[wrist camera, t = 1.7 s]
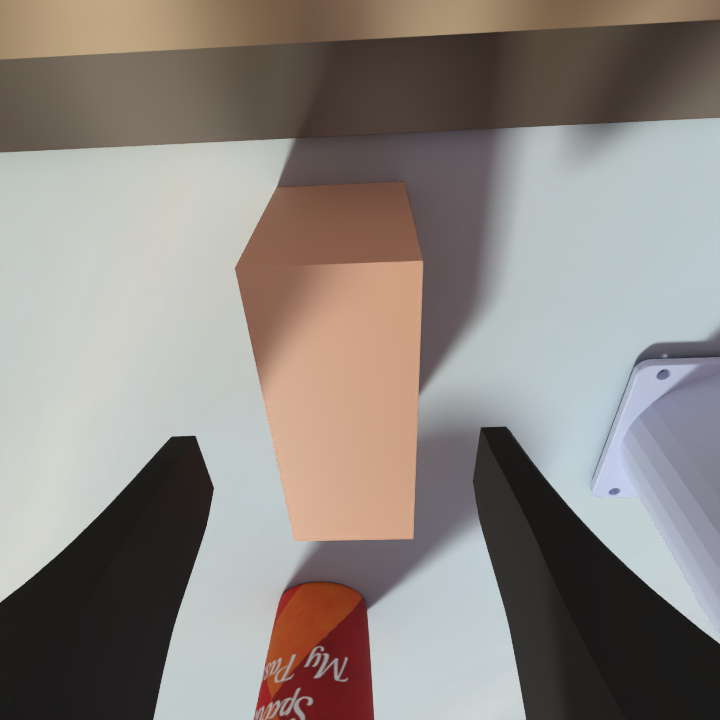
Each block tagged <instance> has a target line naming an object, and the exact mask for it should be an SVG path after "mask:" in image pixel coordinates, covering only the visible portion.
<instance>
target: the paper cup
mask: <svg viewBox="0 0 720 720" xmlns="http://www.w3.org/2000/svg"><path fill="white" fill-rule="evenodd" d="M254 720H374V709H373V693H372V676H371V660H370V645H369V631H368V618H367V608H366V602H365V600H364V598H363V597H362V595H361V594H360V593H358V592H357V591H355V590H354V589H352V588H350V587H347V586H344V585H341V584H336V583H330V582H310V583H304V584H300V585H297V586H294V587H292V588H290V589H288V590H287V591H286V592H285V593H284V594H283V595H282V596H281V599H280V601H279V605H278V609H277V613H276V617H275V622H274V626H273V630H272V635H271V640H270V644H269V649H268V654H267V659H266V663H265V668H264V673H263V678H262V682H261V687H260V692H259V697H258V702H257V707H256V711H255V716H254Z"/></svg>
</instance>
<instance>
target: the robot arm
mask: <svg viewBox="0 0 720 720" xmlns="http://www.w3.org/2000/svg"><path fill="white" fill-rule="evenodd" d="M664 369H665V370H664ZM661 370H664V371H663V372H661V373H658V372H660V371H661ZM473 484H474V490H475V497H476V503H477V509H478V514H479V520H480V524H481V527H482V531H483V534H484V538H485V542H486V545H487V549H488V552H489V556H490V559H491V563H492V566H493V569H494V573H495V576H496V580H497V583H498V587H499V590H500V594H501V597H502V601H503V604H504V608H505V612H506V616H507V620H508V624H509V628H510V633H511V638H512V644H513V649H514V654H515V659H516V665H517V670H518V675H519V681H520V686H521V692H522V698H523V703H524V709H525V714H526V720H720V644H719V643H718V642H717V641H715V640H714V639H713V638H711V637H710V636H709V635H707V634H706V633H705V632H703V631H702V630H701V629H700V628H698V627H697V626H696V625H695V624H694V623H692V622H691V621H690V620H689V619H688V618H686V617H685V616H684V615H683V614H681V613H680V612H679V611H678V610H677V609H675V608H674V607H673V606H672V605H671V604H669V603H668V602H667V601H666V600H664V599H663V598H662V597H661V596H660V595H658V594H657V593H656V592H655V591H654V590H652V589H651V588H650V587H649V586H648V585H647V584H646V583H645V582H644V581H642V580H641V579H640V578H639V577H638V576H637V575H636V574H635V573H634V572H633V571H631V570H630V569H629V568H628V567H627V566H626V565H625V564H624V563H623V562H622V561H621V560H620V559H619V558H618V557H617V556H616V555H615V554H613V553H612V552H611V551H610V550H609V549H608V548H607V547H606V546H605V545H604V544H603V543H602V542H601V541H600V540H599V539H598V537H597V536H596V535H595V534H594V533H593V532H592V531H591V530H590V529H589V528H588V527H587V526H586V525H585V524H584V523H583V522H582V520H581V519H580V518H579V517H578V516H577V515H576V514H575V513H574V512H573V511H572V509H571V508H570V507H569V506H568V505H567V504H566V503H565V501H564V500H563V499H562V498H561V497H560V495H559V494H558V493H557V492H556V491H555V489H554V488H553V487H552V486H551V485H550V483H549V482H548V481H547V480H546V479H545V477H544V476H543V475H542V474H541V472H540V471H539V470H538V468H537V467H536V466H535V465H534V463H533V462H532V461H531V459H530V458H529V457H528V455H527V454H526V453H525V451H524V450H523V449H522V447H521V446H520V444H519V443H518V442H517V440H516V439H515V437H514V436H513V435H512V433H511V432H510V430H509V429H508V428H506V427H481V430H480V437H479V444H478V451H477V458H476V465H475V472H474V479H473ZM213 490H214V487H213V485H212V482H211V479H210V476H209V473H208V470H207V468H206V465H205V462H204V459H203V456H202V453H201V451H200V448H199V445H198V442H197V439H196V436H177V437H171V438H170V439H169V440H168V441H167V442H166V443H165V444H164V446H163V447H162V448H161V449H160V450H159V451H158V452H157V453H156V454H155V455H154V457H153V458H152V459H151V460H150V461H149V462H148V463H147V464H146V466H145V467H144V468H143V469H142V470H141V471H140V472H139V473H138V474H137V476H136V477H135V478H134V479H133V480H132V481H131V482H130V483H129V484H128V485H127V486H126V488H125V489H124V490H123V491H122V492H121V493H120V494H119V495H118V496H117V497H116V498H115V499H114V500H113V501H112V502H111V504H110V505H109V506H108V507H107V508H106V509H105V510H104V511H103V512H102V513H101V514H100V515H99V516H98V517H97V518H96V519H95V520H94V521H93V522H92V523H91V524H90V525H89V526H88V527H87V528H86V529H85V530H84V531H83V532H82V533H81V534H80V535H79V536H78V537H77V538H76V539H75V540H74V541H73V542H71V543H70V544H69V545H68V546H67V547H66V548H65V549H64V550H63V551H62V552H61V553H60V554H58V555H57V556H56V557H55V558H54V559H53V560H52V561H50V562H49V563H48V564H47V565H46V566H45V567H44V568H42V569H41V570H40V571H39V572H38V573H37V574H35V575H34V576H33V577H32V578H31V579H29V580H28V581H27V582H26V583H25V584H23V585H22V586H21V587H20V588H18V589H17V590H16V591H14V592H13V593H12V594H11V595H9V596H8V597H7V598H6V599H4V600H3V601H2V602H0V720H153V718H154V713H155V708H156V703H157V699H158V694H159V689H160V684H161V679H162V675H163V670H164V666H165V662H166V657H167V653H168V649H169V644H170V640H171V636H172V632H173V628H174V625H175V621H176V618H177V614H178V611H179V608H180V605H181V602H182V599H183V596H184V593H185V590H186V587H187V584H188V581H189V578H190V575H191V572H192V569H193V566H194V563H195V560H196V557H197V554H198V551H199V548H200V545H201V542H202V539H203V536H204V533H205V529H206V526H207V521H208V516H209V512H210V507H211V501H212V496H213ZM590 490H591V492H592V494H593V495H594V496H595V497H598V498H619V497H639V498H640V500H641V502H642V503H643V505H644V507H645V509H646V511H647V512H648V514H649V516H650V518H651V519H652V521H653V523H654V525H655V526H656V528H657V530H658V532H659V533H660V535H661V537H662V539H663V541H664V542H665V544H666V546H667V548H668V549H669V551H670V553H671V555H672V556H673V558H674V560H675V562H676V563H677V565H678V567H679V569H680V570H681V572H682V574H683V576H684V578H685V579H686V581H687V583H688V585H689V586H690V588H691V590H692V592H693V593H694V595H695V597H696V599H697V600H698V602H699V604H700V606H701V607H702V609H703V611H704V613H705V615H706V616H707V618H708V620H709V622H710V623H711V625H712V627H713V629H714V630H715V632H716V634H717V636H718V637H719V639H720V357H707V358H675V359H649V360H644V361H642V362H640V363H639V364H637V365H636V366H635V368H634V369H633V372H632V374H631V377H630V380H629V382H628V385H627V388H626V391H625V393H624V396H623V399H622V401H621V404H620V407H619V410H618V412H617V415H616V418H615V420H614V423H613V426H612V429H611V431H610V434H609V437H608V439H607V442H606V445H605V447H604V450H603V453H602V456H601V458H600V461H599V464H598V466H597V469H596V472H595V475H594V477H593V480H592V483H591V485H590Z"/></svg>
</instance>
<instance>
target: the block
mask: <svg viewBox="0 0 720 720" xmlns="http://www.w3.org/2000/svg"><path fill="white" fill-rule="evenodd" d="M235 270H236V275H237V279H238V284H239V289H240V293H241V298H242V302H243V307H244V312H245V316H246V321H247V325H248V330H249V335H250V339H251V344H252V348H253V353H254V358H255V362H256V367H257V371H258V376H259V381H260V385H261V390H262V394H263V399H264V404H265V408H266V413H267V417H268V422H269V427H270V431H271V436H272V440H273V445H274V450H275V454H276V459H277V463H278V468H279V473H280V477H281V482H282V486H283V491H284V496H285V500H286V505H287V509H288V514H289V519H290V523H291V528H292V532H293V537H294V541H333V540H387V539H413V533H414V505H415V477H416V450H417V422H418V394H419V367H420V339H421V311H422V284H423V257H422V253H421V249H420V245H419V240H418V236H417V232H416V228H415V223H414V219H413V215H412V211H411V207H410V202H409V198H408V194H407V190H406V186H405V181H404V182H381V183H358V184H336V185H313V186H290V187H277V188H276V190H275V192H274V193H273V195H272V197H271V199H270V201H269V203H268V205H267V207H266V209H265V211H264V213H263V215H262V217H261V219H260V221H259V222H258V224H257V226H256V228H255V230H254V232H253V234H252V236H251V238H250V240H249V242H248V244H247V246H246V248H245V250H244V252H243V253H242V255H241V257H240V259H239V261H238V263H237V265H236V267H235Z"/></svg>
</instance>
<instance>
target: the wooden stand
mask: <svg viewBox="0 0 720 720" xmlns="http://www.w3.org/2000/svg"><path fill="white" fill-rule="evenodd" d="M701 118H720V0H0V152H18V151H39V150H60V149H80V148H101V147H122V146H142V145H163V144H184V143H204V142H225V141H246V140H266V139H287V138H308V137H328V136H349V135H370V134H391V133H411V132H432V131H453V130H473V129H494V128H515V127H535V126H556V125H577V124H597V123H618V122H639V121H659V120H680V119H701Z"/></svg>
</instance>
